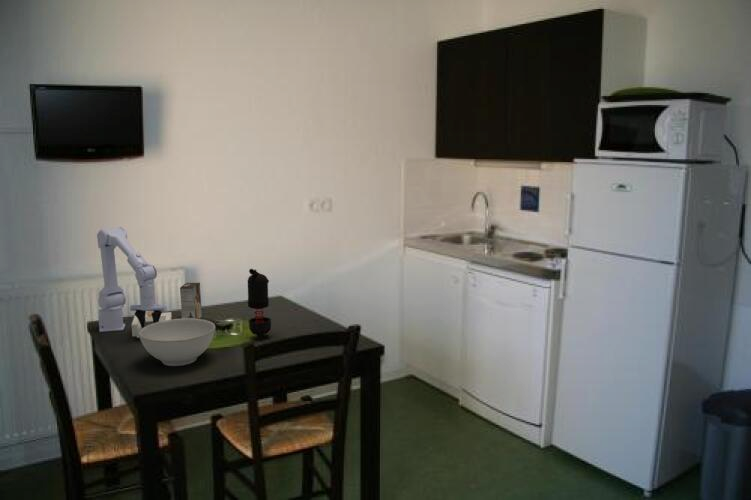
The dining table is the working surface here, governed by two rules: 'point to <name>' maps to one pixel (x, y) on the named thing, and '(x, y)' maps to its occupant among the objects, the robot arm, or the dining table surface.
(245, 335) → the dining table surface
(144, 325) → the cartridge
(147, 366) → the dining table surface
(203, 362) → the dining table surface
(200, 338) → the decorative bowl
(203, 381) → the dining table surface
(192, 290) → the coffee box
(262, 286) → the filter
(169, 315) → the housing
